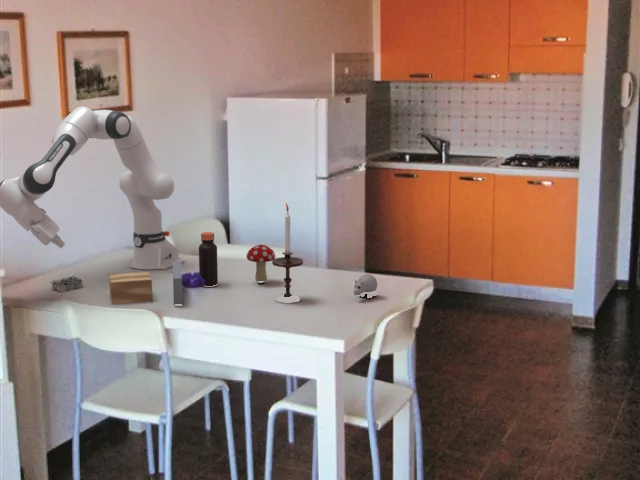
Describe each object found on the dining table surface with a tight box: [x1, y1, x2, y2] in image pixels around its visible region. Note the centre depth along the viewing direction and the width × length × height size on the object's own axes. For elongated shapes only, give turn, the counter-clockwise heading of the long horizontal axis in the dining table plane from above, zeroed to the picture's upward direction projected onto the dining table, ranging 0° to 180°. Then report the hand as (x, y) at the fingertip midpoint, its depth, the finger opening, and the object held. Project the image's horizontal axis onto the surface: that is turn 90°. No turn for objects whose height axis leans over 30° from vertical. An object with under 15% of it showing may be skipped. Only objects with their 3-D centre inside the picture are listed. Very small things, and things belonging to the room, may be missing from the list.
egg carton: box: [49, 275, 85, 292], centre depth 331 cm, size 11×8×4 cm
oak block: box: [108, 271, 153, 305], centre depth 318 cm, size 12×14×8 cm
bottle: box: [198, 231, 219, 286], centre depth 334 cm, size 7×7×20 cm
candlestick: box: [271, 202, 304, 297], centre depth 313 cm, size 11×11×35 cm
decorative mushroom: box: [245, 244, 277, 282], centre depth 338 cm, size 11×11×15 cm
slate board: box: [172, 261, 184, 306], centre depth 320 cm, size 26×3×10 cm, turn 9°
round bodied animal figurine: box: [353, 273, 378, 296], centre depth 319 cm, size 7×12×8 cm, turn 143°
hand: (63, 246), depth 313 cm, fingers closed
